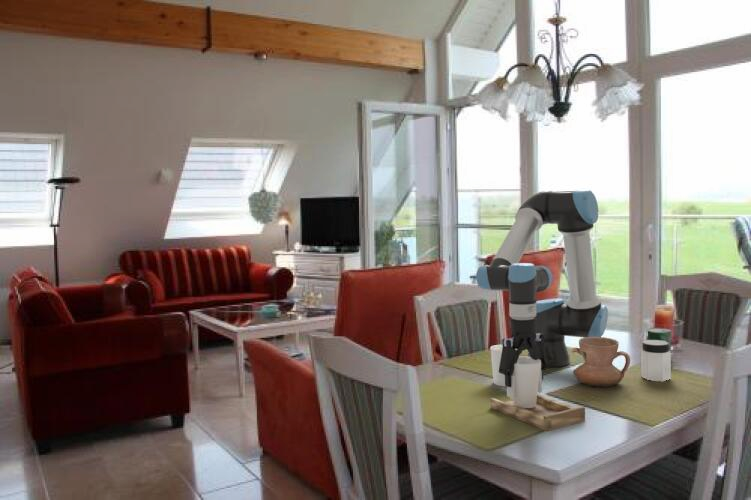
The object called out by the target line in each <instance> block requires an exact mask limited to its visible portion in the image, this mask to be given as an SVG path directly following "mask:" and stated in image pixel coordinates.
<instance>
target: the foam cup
mask: <svg viewBox="0 0 751 500" xmlns="http://www.w3.org/2000/svg"><path fill="white" fill-rule="evenodd" d="M540 370H541V360H540V359H537V360H534V359H532V358H531V357H527V356H520V357H519V358H518V360H517V363H516V364H514V371H513V374H512V375H514V376H515V399H512V400H513V403H514V405H515V406H519V407H523V408H533V407H535V406H536V402H537V394H539V392H538V385H539V376H540Z"/></svg>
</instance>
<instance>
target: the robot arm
mask: <svg viewBox="0 0 751 500" xmlns="http://www.w3.org/2000/svg"><path fill="white" fill-rule="evenodd" d="M514 215H515V216H514V218H515V219H514V223H513V224H512V226H511V228H510V229H509V231H508V232H507V235H506V237H505V238H504V239H503V241H502V243H501V245H500V247H499V248H498V250H497V252H496V254H495V255H494V257H493V259H492V260H491V262H490V264H489V265H488V264H484V265H480V266H479V267H478V268H477V270H476V274H475V275H476V276H475V279H476V284H477V286H478V287H479V288H480V289H482V290H489V291H504V292H505V291H508V294H509V296H508V297H509V300H508V301H509V304H508V305H509V306H508V307H509V315H508V316H509V317H510V319H509V330H510V333H511V335H510V338H503V339H502V340H501V343H502V345H503V348H502V354H501V360H500V366H499V373H501V374H504V375H505V386H507V387H506V397H508V398H510V399H512V400H513V399H515V376H514V375H512V374H513V371H514V364H516V363H517V360H518V358H519V355H520V356H521V354H522V353H523V352H524V351H525V350H527V352H528V353H527V355H526V357H531V358H532V359H534V360H537V359H540V360H541V370H540V376H539V385H538V393H540V394H541V393H543V380H544V371H546V369H547V368H548V367H549V368H550V367H551V368H554V367H555V368H557V367H564V366H568V365H569V364H570V362H571V359H570V353H569V351H568V349H567V344H566V343H565V337H575V338H587V337H602V336H604V333H605V331H606V329H607V324H608V317H609V311H608V307H607V306H606V305H604V304H602V300H601V298H600V297H599V296H597V295H596V286H595V276H594V266H593V255H592V245H591V235H590V232H591V230H593V228H594V224H596V223H597V222H598V219H599V204H598V201H597V198H596V195H595V194H594V193H593V191H592V190H590V189H587V188H564V189H561V188H560V189H545V190H542V191H539V192H537V193H535V194H534V195H532V196H530V197H529V198H528V199H526V201H524V202H523V203H522V204H521V205H520V206H519V208H518V210H516V213H515V214H514ZM547 224H549V225H550V224H551V225H557V230H558V232H559V233H561V234H562V235H563V246H564V252H565V253H564V254H565V263H566V272H567V273H566V274H567V281H568V289H569V298H568V299H566V301H565V300H564V298H547V299H543V300H541V299H540V300H537V294H538V293H540V292H543V291H546V290H547V289H548V288H550V286H551V285H552V283H553V279H554V277H553V274H552V272H551V270H550V268H548V267H547V266H544V265H535V264H534V263H533V262H532V263H530V262H529V263H528V262H520V261H521V259H522V257H523V255H524V254H525V252H526V249H527V248H528V246H529V244H530V242H531V240H532V238H533V237H534V235H535V234H536V232H537V231H538V230H540V229H542V227H543V226H544V225H547ZM511 346H512V347H511ZM516 349H517V350H516Z"/></svg>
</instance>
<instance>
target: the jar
mask: <svg viewBox="0 0 751 500" xmlns="http://www.w3.org/2000/svg"><path fill="white" fill-rule="evenodd" d="M641 345H642V346H641V347H642V348H641V349H640V377H641V378H643V379H644V378H645V379H644V380H646V379H647V380H646V381H648V380H651V382H659V381H660V382H659V383H662V382H666V380H667V381H669V379H670V380H671V379H672V376H671V375H672V374H671V372H672V369H671V366H672V363H671V362H672V353H671V352H672V350H671V351H669V343H668V342H666V341H661V340H648V339H647V340H643V341H642V344H641Z"/></svg>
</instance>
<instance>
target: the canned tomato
mask: <svg viewBox="0 0 751 500" xmlns="http://www.w3.org/2000/svg"><path fill="white" fill-rule="evenodd" d="M646 331H647V340H661V341H666V342H668V343H669V351H671V352H672V330H671V329H669V328H664V327H663V328H662V327H651V328H648V329H647V330H646Z"/></svg>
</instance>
